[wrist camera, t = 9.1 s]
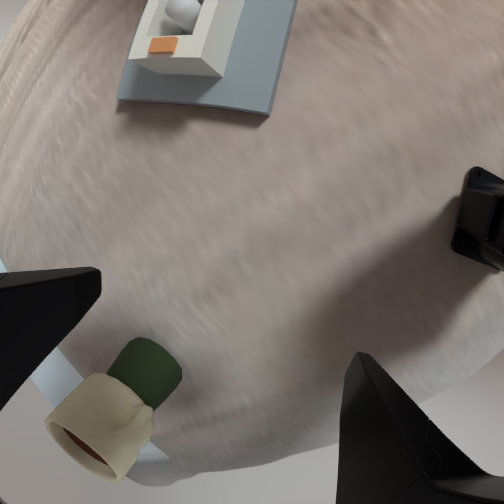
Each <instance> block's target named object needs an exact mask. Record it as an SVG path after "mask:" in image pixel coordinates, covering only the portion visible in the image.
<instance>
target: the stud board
mask: <svg viewBox="0 0 504 504" xmlns="http://www.w3.org/2000/svg"><path fill="white" fill-rule="evenodd" d="M147 3H148V0H147V2H146V4H145V7H144V9H143V12H142V14H141V17H140V20H139V22H138V25H137V28H136V31H135V34H134V37H133V40H132V43H131V46H130V49H129V52H128V55H127V59H126V62H125V66H124V69H123V73H122V77H121V80H120V84H119V88H118V92H117V97H116V99H118V100H122V101H142V102H163V103H177V104H188V105H199V106H208V107H216V108H223V109H231V110H237V111H244V112H250V113H256V114H261V115H267V116H270V114H271V110H272V105H273V101H274V97H275V92H276V88H277V84H278V79H279V75H280V71H281V67H282V62H283V58H284V54H285V50H286V46H287V42H288V37H289V33H290V29H291V25H292V21H293V17H294V13H295V9H296V5H297V0H245V1H244V5H243V8H242V11H241V14H240V17H239V21H238V24H237V28H236V31H235V34H234V38H233V41H232V45H231V49H230V52H229V56H228V60H227V63H226V67H225V71H224V75H223V77H215V76H202V75H182V74H158V73H156V72H154V71H152V70H150V69H148V68H145V67H143V66H141V65H139V64H137V63H135V62H133V61H130V60H128V57H129V54H130V50H131V47H132V44H133V41H134V38H135V35H136V32H137V29H138V26H139V24H140V21H141V18H142V16H143V13H144V10H145V8H146V5H147ZM202 5H203V2H198V1H197V0H170V1H169V2H168V3H167V5H166V7H165V13H166V15H167V16H168V17H170V18H171V19H172V20H173V21H174V22H175V23H177V24H178V25H179V26H180V27H181V28H182V29H183V30H182V33H181V35H192V34H193V31H194V28H195V25H196V22H197V19H198V16H199V13H200V10H201V7H202Z"/></svg>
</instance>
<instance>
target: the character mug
mask: <svg viewBox="0 0 504 504" xmlns="http://www.w3.org/2000/svg"><path fill="white" fill-rule="evenodd" d="M181 380H182V369H181V367H180V366H179V365H178V363H177V362H176V360H175V359H174V358H173V357H172V356H171V355H170V354H169V353H168V352H167V351H166V350H165V349H164V348H163V347H161V346H160V345H158V344H156V343H155V342H153V341H152V340H150V339H145V338H139V337H138V338H136V339H134V340H132V341H130V342H129V343H128V344H127V345H126V347H125V348H124V349H123V350H122V352H121V353H120V354H119V356H118V357H117V359H116V360H115V361H114V363H113V364H112V366H111V367H110V369H109V370H108V372H107V374H104V373H92V374H91V375H89V376H88V377H87V378H86V379H85V380H84V381H83V382H82V383H81V384H80V385H79V386H78V387H77V388H76V389H75V390H74V391H73V392H72V393H71V394H70V395H69V396H68V397H67V398H66V399H65V400H64V401H63V402H62V403H61V404H60V405H59V406H58V407H57V408H56V409H55V410H54V411H53V412H52V413H51V414H50V415H49V416H48V417H47V418H46V419H45V420H44V421H45V424H46V427H47V429H48V431H49V433H50V434H51V436H52V437H53V439H54V440H55V441H56V442H57V443H58V444H59V446H60V447H61V448H62V449H63V450H64V451H65V452H66V453H67V454H68V455H70V456H71V457H72V458H73V459H74V460H75V461H76V462H78V463H79V464H80V465H82V466H83V467H85V468H86V469H87V470H89V471H90V472H92V473H94V474H96V475H97V476H99V477H101V478H103V479H105V480H108V481H111V482H114V483H119V482H121V481H122V480H123V479H124V477H125V476H126V474H127V473H128V471H129V470H130V468H131V467H132V466H133V465H134V463H135V461H136V459H137V455H138V452H139V450H140V448H141V447H142V446H143V445H144V444H145V443H146V442H147V441H148V440H149V439H150V438H151V437H152V435H153V432H154V422H153V419H152V416H153V411H154V410H155V409H156V408H158V407H159V406H160V405H161V404H162V403H163V402H164V401H165V400H166V399H167V398H168V396H169V395H170V394H171V393H172V392H173V391H174V389H175V388H176V387H177V386H178V384H179V383H180V381H181Z"/></svg>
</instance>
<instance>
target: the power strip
mask: <svg viewBox="0 0 504 504" xmlns="http://www.w3.org/2000/svg"><path fill="white" fill-rule="evenodd" d="M169 1H170V0H148V3H147V5H146V8H145V10H144V13H143V16H142V18H141V21H140V24H139V26H138V29H137V32H136V35H135V38H134V41H133V44H132V47H131V50H130V54H129V57H128V60H130V61H133V62H135V63H137V64H139V65H141V66H143V67H145V68H148V69H150V70H152V71H154V72H156V73H158V74H182V75H202V76H215V77H223V75H224V71H225V67H226V63H227V60H228V56H229V52H230V49H231V45H232V41H233V38H234V34H235V31H236V28H237V24H238V21H239V17H240V14H241V11H242V8H243V5H244V1H245V0H197V1H198V2H203V5H202V7H201V10H200V13H199V16H198V19H197V22H196V25H195V28H194V31H193V34H192V35H181V33H182V30H183V29H182V28H181V27H180V26H179V25H178V24H177V23H175V22H174V21H173V20H172V19H171V18H170V17H168V16H167V15H166V13H165V7H166V5H167V3H168V2H169Z"/></svg>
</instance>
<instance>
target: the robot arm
mask: <svg viewBox="0 0 504 504" xmlns="http://www.w3.org/2000/svg"><path fill="white" fill-rule="evenodd" d="M476 171H478V173H479V175H478V176H477V175H476ZM458 243H459V247H458V248H456V245H457V244H458ZM451 249H452V250H453V251H454V252H456V253H458V254H460V255H463V256H466V257H468V258H471V259H474V260H476V261H479V262H481V263H484V264H486V265H489V266H491V267H494V268H496V269H499V270H501V271H503V272H504V180H503V179H501V178H499V177H497V176H496V175H494V174H492V173H490V172H488V171H487V170H485V169H483V168H481V167H478V166H475V167H473V168H472V169H471V173H470V178H469V182H468V187H467V189H466V190H465V193H464V197H463V201H462V205H461V208H460V212H459V216H458V219H457V227H456V231H455V234H454V237H453V240H452V243H451ZM101 291H102V284H101V271H100V270H98V269H96V268H94V267H78V268H64V269H50V270H36V271H22V272H10V273H8V272H7V273H0V411H1V410H2V408H3V407H4V406H5V405H6V403H7V402H8V401H9V400H10V398H11V397H12V396H13V395H14V394H15V392H16V391H17V390H18V389H19V388H20V386H21V385H22V384H23V383H24V382H25V380H26V379H27V378H28V377H29V376H30V375H31V374H32V373H33V371H34V370H35V369H36V368H37V367H38V366H39V365H40V364H41V362H42V361H43V360H44V359H45V358H46V357H47V356H48V355H49V354H50V353H51V352H52V350H53V349H54V348H55V347H56V346H57V345H58V344H59V343H60V342H61V341H62V340H63V339H64V338H65V337H66V336H67V335H68V334H69V332H70V331H71V330H72V329H73V328H74V327H75V326H76V325H77V324H78V323H79V322H80V320H81V319H82V318H83V317H84V315H85V314H86V313H87V312H88V310H89V309H90V308H91V307H92V306H93V304H94V303H95V302H96V301H97V299H98V298H99V297H100V295H101ZM0 504H7V503H5V502H4V501H3V500H2V499H1V498H0ZM336 504H504V477H500V476H494V475H491V474H488V473H487V472H485V471H483V470H482V469H481V468H480V467H478V465H476V464H475V463H474V462H473V461H472V460H471V459H470V458H469V457H468V456H467V455H466V454H464V453H463V452H462V451H461V450H460V449H459V448H458V447H457V446H456V445H455V444H454V443H453V442H452V441H451V440H449V439H448V438H447V437H446V436H445V435H444V434H443V433H442V432H441V431H440V429H439V428H438V427H437V426H436V425H435V424H434V423H433V422H432V421H431V420H429V417H427V416H426V414H425V413H424V412H423V411H422V410H421V409H420V408H419V407H418V406H417V404H416V403H415V402H414V401H413V400H412V399H411V398H410V397H409V396H408V395H407V394H406V393H405V392H404V390H403V389H402V388H401V387H400V386H399V385H398V384H397V383H396V382H395V381H394V380H393V379H392V378H391V377H390V376H389V374H388V373H387V372H386V371H385V370H384V369H383V368H382V367H381V366H380V365H379V364H378V363H377V362H376V361H375V360H374V358H373V357H372V356H371V355H370V354H367V353H362V352H357V353H356V354H355V356H354V358H353V360H352V362H351V364H350V366H349V368H348V369H347V372H346V374H345V379H344V388H343V397H342V405H341V412H340V435H339V462H338V481H337V494H336Z"/></svg>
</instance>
